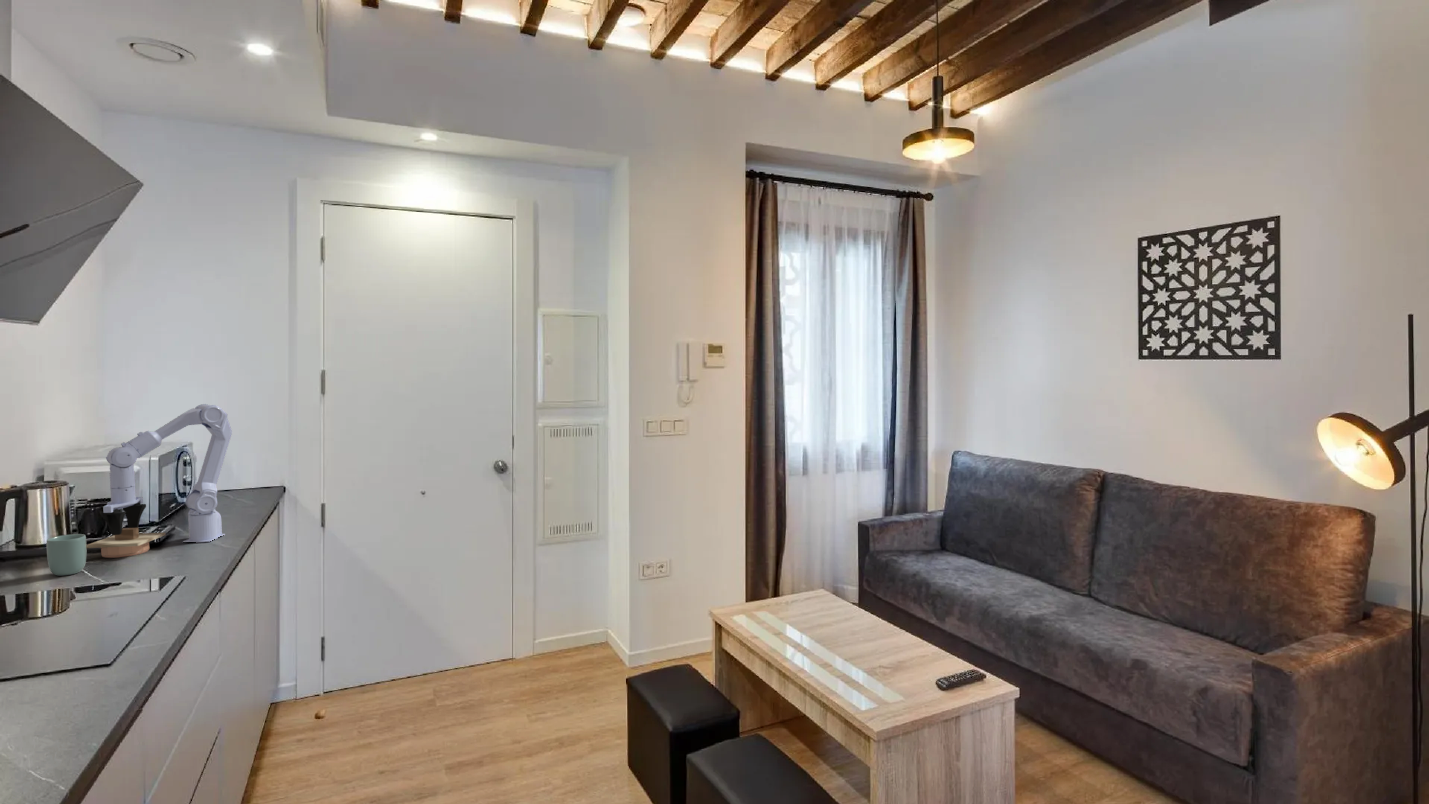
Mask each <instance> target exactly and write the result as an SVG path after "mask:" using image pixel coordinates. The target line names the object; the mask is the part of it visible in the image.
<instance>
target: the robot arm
mask: <svg viewBox="0 0 1429 804" xmlns="http://www.w3.org/2000/svg"><path fill="white" fill-rule="evenodd" d="M196 425H197V426H199V425H202V426H204V427H205V428H206V429H207V430H208V432H209V433H210V434H211V437H210V439H209V443H208V446H207V450H206V453H205V456H204V460H203V463H202V466H201V469H200V472H199V476H198V479H197V482H196V483H195V484H194V486H193V487H192V490H191V492H190V493H189V494H188V495H187V497H186V498H185V505H186V507H187V508H188V509H189V510H188V512H187V516H188V518H187V519H188V538H187V539H186V540H183V541H182V543H183V542H196V543H211V542H213V541H215V540H217V539H219V538H218V537H220V536H222V537H224V536H225V535H226V533H223V530H222V529H223V528H222V526H223V525H222V524H223V523H222V516H221V513H220V512H219V511H217V510H216V508H217V506H218V504H219V503H218V502H219V501H218V498H217V495H218V488H217V484H218V480H219V477H220V474H221V471H222V466H223V464H224V461H225V457H226V454H227V450H228V447H229V444H230V440H231V437H232V435H233V429H232V428H231V425H230V422H229V418H228V413H227V412H226V411H225V410H224V409H223V408H222V407H221V406H219V405H216V404H206V403H203V404H199V405H197V406H195V407H193V408H189V409H188V410H187V411H185V412H182V413H181V414H180V415H178V416H177V417H175V418H173V419H172V420H170V421H168V422H167V423H166V424H164V425H162V426H160V427H159V428H158V429H156V430H154V431H149V430H146V431H144V432H143V431H140V432H138V433H137V436H135V437H134V438H132V439H130V440H128V441H125V442H124V441H123V442H122V443H120V445H121V446H117V447H113V448H112V449H110V450H109V451H108V453H107V455H106V457H105V459H106V461H107V463H108V464H109V487H110V489H109V490H110V501H108V502H107V503H106V505H104V506H103V511H102V512H100V516H101V517H102V518H103V520H104V521H105V522H106V524H107V526H108V529H109V531H110V533H111V536H113V535H120V534H121V533H122V528H123V523H124V518H126V522H127V528H138V529H139V525H140V521H141V517H142V515H143V512H144V511H145V509H146V507H147V504H145V503H144V498H143V496H137V495H136V493H137V492H136V474H135V466H134V464H135V463H136V462H137V459H140V458H142V457H143V456H146V455H147V454H149V453H150V452H152V451H154V450H155V449H157V448H159V447H160V446H161V445H162V441H163V440H164V439H166V438H167V437H169V436H171V435H174V433H178V431H181V430H182V429H184V428H186V427H188V426H196ZM120 510H123V511H120ZM223 535H224V536H223ZM220 538H221V537H220ZM214 539H215V540H214ZM212 540H213V541H212ZM210 541H211V542H210Z"/></svg>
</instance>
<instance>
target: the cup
mask: <svg viewBox="0 0 1429 804" xmlns="http://www.w3.org/2000/svg"><path fill="white" fill-rule="evenodd" d="M86 545H87V537H86V534H84V533H83V534H82V533H73V534H72V533H71V534H64V535H57V536H53V537H50V538H48V539H47V540H46V558H47V564H48V569H49V571H50V572H51V573H52V574H53V575H54V576H57V577H58V576H59V577H61V576H62V577H65V576H71V575H75V574H77V573H79V572H81V571H83V570H84V568H85V566H86V562H87V555H88V554H87V553H88V552H87V549H88V548H87V547H86Z"/></svg>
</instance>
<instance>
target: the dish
mask: <svg viewBox="0 0 1429 804" xmlns="http://www.w3.org/2000/svg"><path fill="white" fill-rule="evenodd" d="M149 551H150V541H149V542H147V543H144V544H142V545H139V546H127V547H102V548H100V554H101V558H106V559H111V558H112V559H113V558H114V559H116V558H118V559H119V558H125V557H126V558H127V557H132V556H137V555H138V556H139V555H142V554H145V553H147V552H149Z"/></svg>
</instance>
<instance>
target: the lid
mask: <svg viewBox="0 0 1429 804" xmlns="http://www.w3.org/2000/svg"><path fill="white" fill-rule="evenodd" d="M166 535H167V534H166V532H143V533H141V532H139V527H138V528H128V527H122V533H121V534H120V535H111V536H108V537H105V538H103V539H100V540H97V541H94V542H91V543H88V544H86V547H87V549H97V548H100V549H101V548H102V547H127V546H139V545H142V544H144V543H147V542H149V543H150V542H151V541H154V540H157V539H159V538H162V537H165V536H166Z"/></svg>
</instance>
